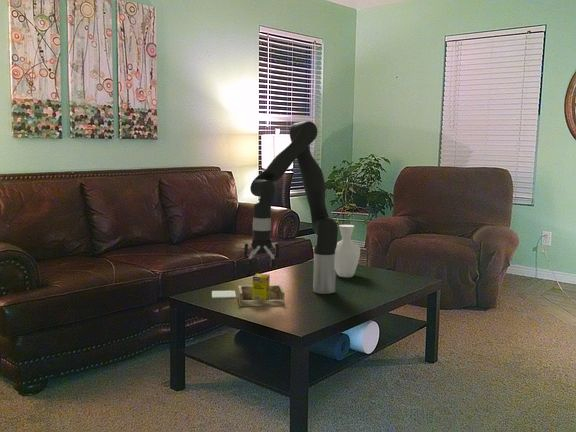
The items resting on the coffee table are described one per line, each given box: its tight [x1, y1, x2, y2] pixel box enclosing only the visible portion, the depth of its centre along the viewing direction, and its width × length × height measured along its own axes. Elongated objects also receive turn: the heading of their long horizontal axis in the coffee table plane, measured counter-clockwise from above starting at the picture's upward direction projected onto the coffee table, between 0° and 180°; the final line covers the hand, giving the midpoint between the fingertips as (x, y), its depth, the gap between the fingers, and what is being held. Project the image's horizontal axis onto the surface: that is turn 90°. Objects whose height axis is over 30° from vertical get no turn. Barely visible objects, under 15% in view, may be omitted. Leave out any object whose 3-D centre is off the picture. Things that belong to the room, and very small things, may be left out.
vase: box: [335, 224, 361, 278], centre depth 282 cm, size 14×14×25 cm
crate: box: [237, 284, 286, 307], centre depth 234 cm, size 18×13×5 cm
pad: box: [211, 290, 237, 300], centre depth 243 cm, size 10×10×1 cm
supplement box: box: [251, 273, 270, 300], centre depth 234 cm, size 6×6×11 cm
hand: (261, 267), depth 233 cm, fingers open, 8 cm apart
